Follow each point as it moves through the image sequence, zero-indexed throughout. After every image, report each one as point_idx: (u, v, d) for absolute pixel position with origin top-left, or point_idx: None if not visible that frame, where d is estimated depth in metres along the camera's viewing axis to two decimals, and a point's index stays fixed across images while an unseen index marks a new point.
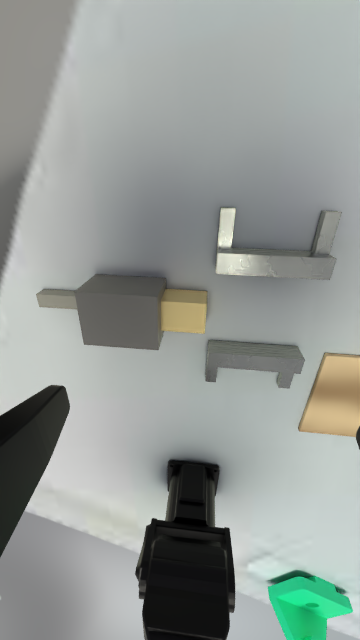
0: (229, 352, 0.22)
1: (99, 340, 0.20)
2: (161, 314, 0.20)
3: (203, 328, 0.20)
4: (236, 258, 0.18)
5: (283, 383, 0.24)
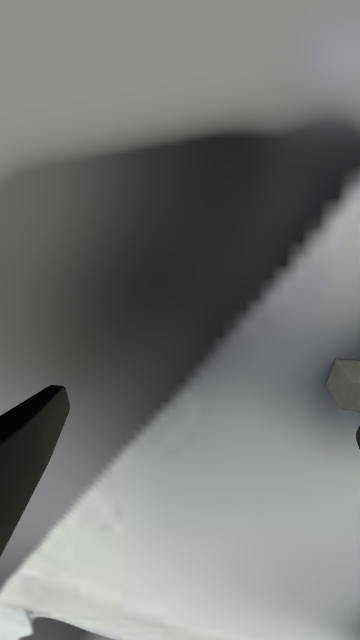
0: None
1: None
2: None
3: None
4: None
5: None
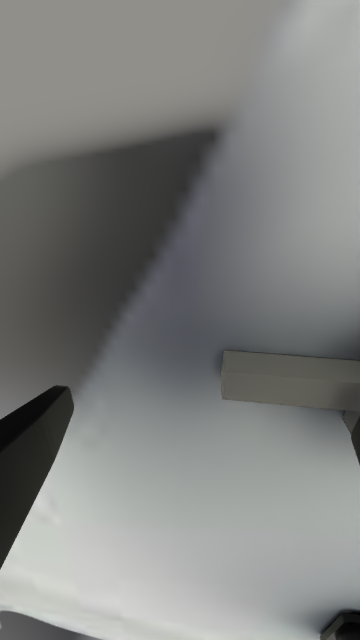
0: None
1: None
2: None
3: None
4: None
5: None
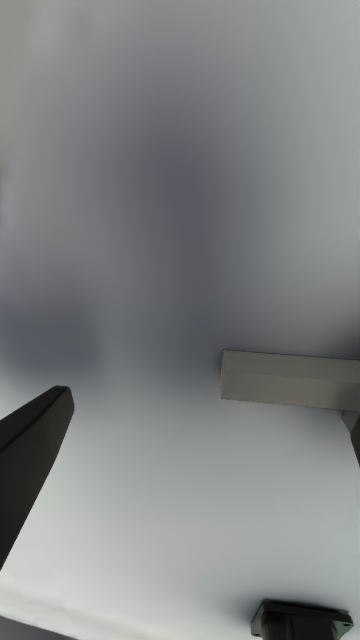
0: None
1: None
2: None
3: None
4: None
5: None
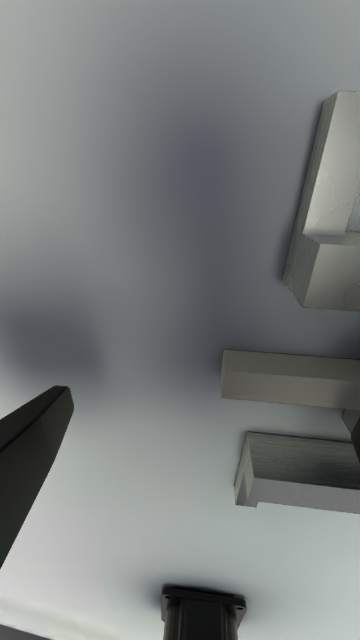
0: (301, 477, 0.10)
1: None
2: None
3: None
4: None
5: None
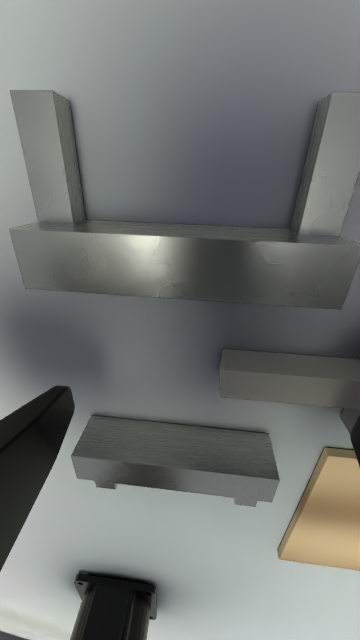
0: (117, 455, 0.10)
1: None
2: None
3: None
4: (65, 245, 0.06)
5: (243, 498, 0.12)
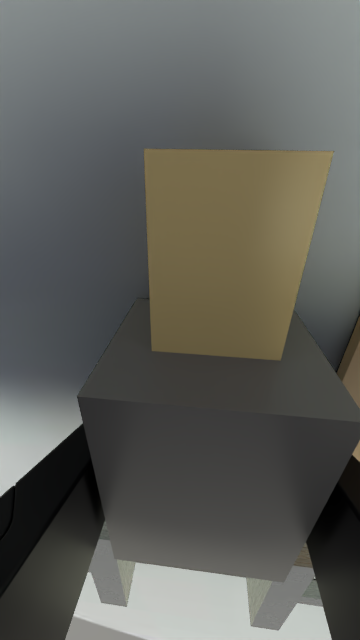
0: (255, 608, 0.14)
1: (273, 557, 0.06)
2: (205, 354, 0.05)
3: (296, 160, 0.04)
4: (103, 595, 0.14)
5: None
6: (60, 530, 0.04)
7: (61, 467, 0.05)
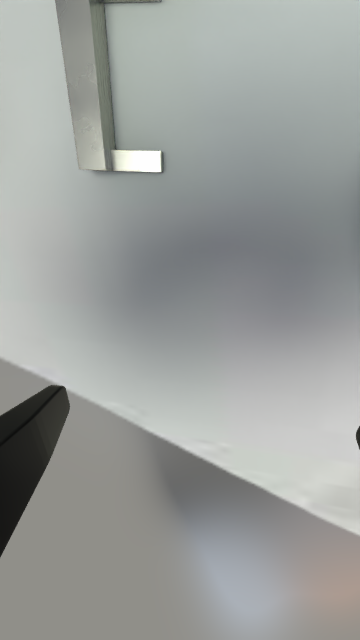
0: None
1: None
2: None
3: None
4: None
5: None
6: None
7: None
